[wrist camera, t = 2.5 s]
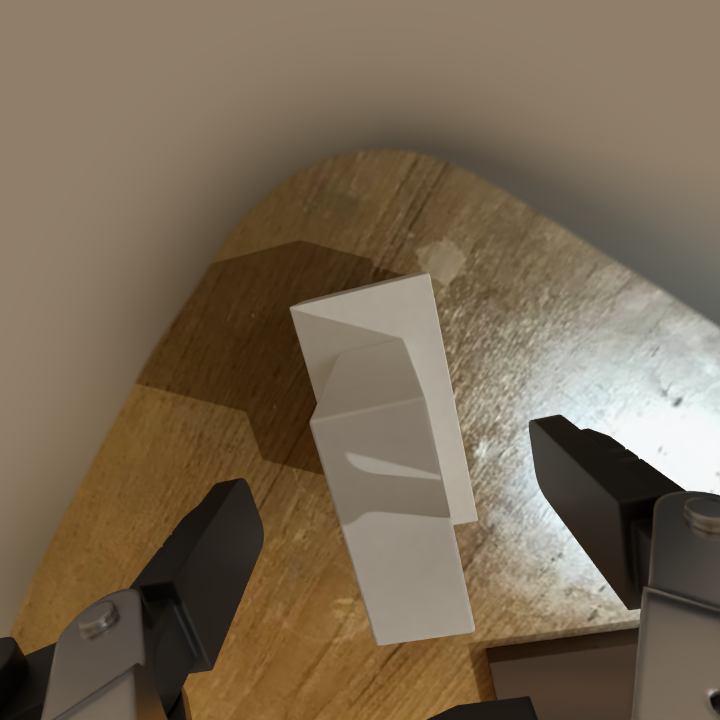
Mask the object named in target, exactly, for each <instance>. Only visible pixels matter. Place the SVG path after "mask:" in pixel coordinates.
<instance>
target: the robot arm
mask: <svg viewBox="0 0 720 720" xmlns="http://www.w3.org/2000/svg"><path fill="white" fill-rule="evenodd" d="M529 433H530V440H531V447H532V454H533V460H534V467H535V473H536V478H537V481H538V484H539V487H540V489H541V491H542V493H543V495H544V497H545V498H546V499H547V501H548V502H549V503H550V505H551V506H552V507H553V509H554V510H555V512H556V513H557V514H558V516H559V517H560V518H561V520H562V521H563V522H564V524H565V525H566V526H567V528H568V529H569V530H570V532H571V533H572V534H573V536H574V537H575V539H576V540H577V541H578V543H579V544H580V545H581V547H582V548H583V549H584V551H585V552H586V553H587V555H588V556H589V557H590V559H591V560H592V562H593V563H594V564H595V566H596V567H597V568H598V570H599V571H600V572H601V574H602V575H603V576H604V578H605V579H606V580H607V582H608V583H609V584H610V586H611V587H612V589H613V590H614V591H615V593H616V594H617V595H618V597H619V598H620V599H621V601H622V602H623V603H624V605H625V606H626V607H627V609H628V610H635V609H641V613H640V624H639V636H638V648H637V659H636V671H635V683H634V694H633V706H632V717H631V720H720V495H716V494H711V493H706V492H697V491H686V490H684V489H683V488H681V487H680V486H679V485H677V484H676V483H674V482H673V481H672V480H670V479H669V478H667V477H666V476H665V475H663V474H662V473H660V472H659V471H658V470H656V469H655V468H653V467H652V466H651V465H649V464H648V463H646V462H645V461H644V460H642V459H639V458H638V456H637V455H635V454H634V453H633V452H631V451H630V450H628V449H625V447H624V446H623V445H621V444H620V443H619V442H617V441H616V440H614V439H613V438H612V437H610V436H608V435H605V434H602V433H600V432H597V431H594V430H591V429H583V430H580V429H579V428H578V427H576V426H575V425H574V424H572V423H571V422H570V421H569V420H567V419H566V418H565V417H564V416H562V415H554V416H549V417H544V418H539V419H534V420H531V421H530V422H529ZM263 540H264V531H263V525H262V522H261V519H260V516H259V513H258V510H257V508H256V505H255V502H254V499H253V496H252V494H251V491H250V488H249V485H248V483H247V482H246V480H245V479H243V478H239V479H234V480H230V481H225V482H220V483H216V484H215V485H214V486H213V487H212V488H211V490H210V491H209V493H208V494H207V495H206V497H205V498H204V499H203V501H202V502H201V503H200V504H199V505H198V506H197V507H196V508H194V509H193V510H192V511H191V512H190V513H188V514H187V515H186V516H185V517H184V518H183V519H182V520H181V521H180V523H179V524H178V525H177V527H176V528H175V529H174V531H173V532H172V535H170V536H169V537H168V538H167V540H166V541H165V542H164V543H163V547H161V548H160V549H159V550H158V551H157V553H156V554H155V555H154V556H153V558H152V559H151V560H150V562H149V563H148V564H147V565H146V567H145V568H144V569H143V571H142V572H141V573H140V575H139V576H138V577H137V578H136V580H135V581H134V582H133V584H132V585H131V586H130V587H129V589H124V590H120V591H117V592H114V593H111V594H109V595H107V596H105V597H103V598H101V599H100V600H98V601H96V602H95V603H93V604H92V605H90V606H89V607H88V608H86V609H85V610H84V611H82V612H81V613H80V614H79V615H78V616H77V617H76V618H75V619H74V620H73V621H72V622H71V623H70V624H69V625H68V626H67V627H66V628H65V630H64V631H63V632H62V634H61V635H60V637H59V639H58V641H57V642H56V643H54V644H51V645H49V646H47V647H44V648H42V649H40V650H37V651H35V652H32V653H30V654H28V655H25V656H24V654H23V653H22V651H21V649H20V647H19V646H18V644H17V642H16V641H15V639H14V638H12V637H4V638H0V720H192V716H191V711H190V706H189V701H188V697H187V694H186V692H185V689H184V687H183V685H184V683H185V680H186V678H187V676H188V674H190V673H197V672H204V671H210V670H212V669H213V667H214V664H215V662H216V659H217V657H218V655H219V652H220V650H221V647H222V645H223V642H224V640H225V637H226V635H227V632H228V630H229V628H230V625H231V623H232V620H233V618H234V615H235V613H236V610H237V608H238V605H239V603H240V601H241V598H242V596H243V593H244V591H245V588H246V586H247V583H248V581H249V578H250V576H251V574H252V571H253V569H254V566H255V564H256V561H257V559H258V556H259V554H260V551H261V549H262V546H263ZM427 720H538V718H537V715H536V712H535V710H534V707H533V704H532V701H531V699H530V696H526V697H518V698H511V699H503V700H495V701H487V702H480V703H472V704H464V705H457V706H455V707H453V708H450V709H448V710H446V711H444V712H442V713H440V714H438V715H436V716H433V717H431V718H429V719H427Z"/></svg>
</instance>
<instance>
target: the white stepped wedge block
mask: <svg viewBox="0 0 720 720" xmlns="http://www.w3.org/2000/svg"><path fill="white" fill-rule="evenodd" d="M290 312H291V315H292V318H293V322H294V325H295V329H296V332H297V335H298V339H299V342H300V346H301V349H302V353H303V356H304V359H305V363H306V366H307V370H308V373H309V377H310V380H311V383H312V387H313V390H314V394H315V397H316V401H317V406H316V408H315V410H314V413H313V415H312V417H311V419H310V427H311V430H312V434H313V437H314V440H315V444H316V447H317V450H318V454H319V457H320V460H321V464H322V467H323V470H324V473H325V477H326V480H327V483H328V487H329V490H330V493H331V497H332V500H333V503H334V507H335V510H336V513H337V517H338V520H339V523H340V526H341V530H342V533H343V536H344V540H345V543H346V546H347V550H348V553H349V556H350V560H351V563H352V566H353V570H354V573H355V576H356V579H357V583H358V586H359V589H360V593H361V596H362V599H363V603H364V606H365V609H366V613H367V616H368V619H369V623H370V626H371V629H372V632H373V636H374V639H375V642H376V644H377V645H379V646H380V645H387V644H394V643H401V642H408V641H415V640H422V639H429V638H436V637H444V636H451V635H458V634H465V633H472V632H474V630H475V625H474V620H473V616H472V611H471V607H470V602H469V597H468V593H467V588H466V583H465V579H464V574H463V570H462V565H461V560H460V556H459V551H458V546H457V542H456V537H455V533H454V528H453V525H456V524H462V523H468V522H473V521H478V518H477V513H476V508H475V503H474V498H473V493H472V487H471V482H470V477H469V472H468V467H467V462H466V457H465V452H464V447H463V442H462V437H461V432H460V426H459V421H458V416H457V411H456V406H455V401H454V396H453V391H452V386H451V381H450V376H449V370H448V365H447V360H446V355H445V350H444V345H443V340H442V335H441V330H440V325H439V320H438V315H437V309H436V304H435V299H434V294H433V289H432V284H431V279H430V274H429V273H426V272H417V273H413V274H409V275H405V276H401V277H397V278H393V279H389V280H385V281H381V282H377V283H373V284H369V285H365V286H361V287H357V288H353V289H349V290H345V291H341V292H337V293H333V294H329V295H325V296H321V297H317V298H313V299H309V300H305V301H302V302H300V303H298V304H296V305H294V306H291V307H290Z"/></svg>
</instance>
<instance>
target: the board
mask: <svg viewBox="0 0 720 720" xmlns="http://www.w3.org/2000/svg"><path fill="white" fill-rule="evenodd" d="M638 636H639V628H638V629H630V630H623V631H616V632H608V633H601V634H593V635H586V636H579V637H571V638H564V639H557V640H549V641H542V642H535V643H527V644H520V645H512V646H505V647H498V648H490V649H486V653H487V658H488V663H489V668H490V672H491V677H492V682H493V687H494V691H495V696H496V700H503V699H511V698H518V697H526V696H530V699H531V701H532V704H533V707H534V710H535V712H536V715H537V718H538V720H631V717H632V706H633V694H634V683H635V671H636V659H637V648H638Z"/></svg>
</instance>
